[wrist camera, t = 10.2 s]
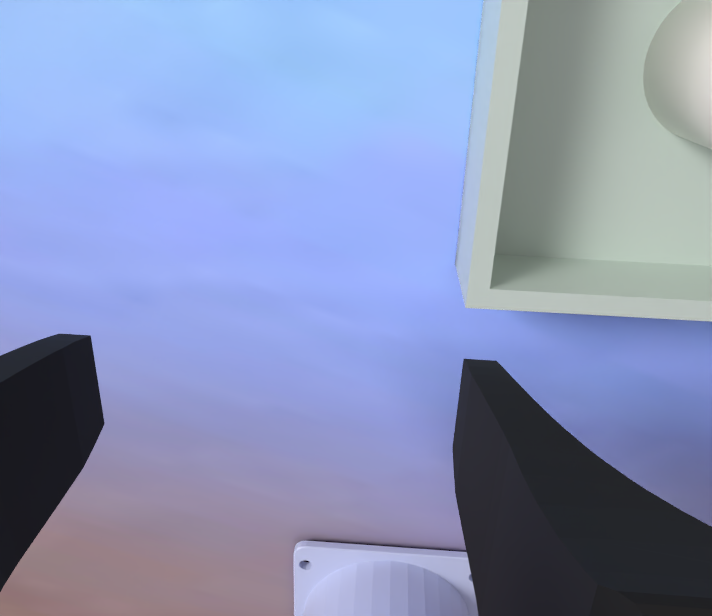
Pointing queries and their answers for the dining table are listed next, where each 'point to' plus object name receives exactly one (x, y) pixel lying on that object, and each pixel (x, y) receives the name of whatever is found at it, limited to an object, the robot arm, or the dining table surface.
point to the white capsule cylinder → (682, 72)
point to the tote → (579, 170)
